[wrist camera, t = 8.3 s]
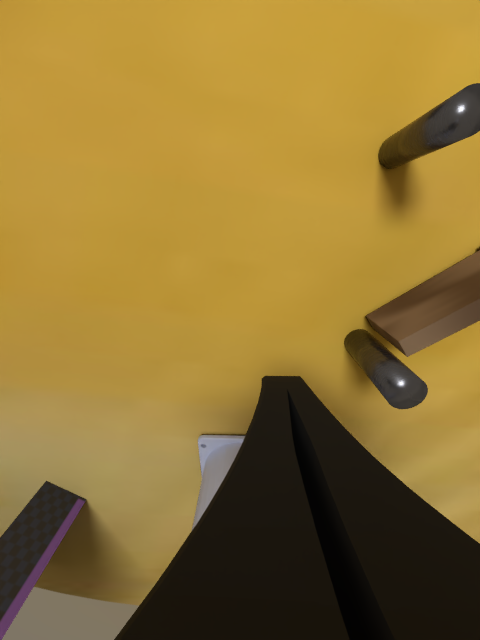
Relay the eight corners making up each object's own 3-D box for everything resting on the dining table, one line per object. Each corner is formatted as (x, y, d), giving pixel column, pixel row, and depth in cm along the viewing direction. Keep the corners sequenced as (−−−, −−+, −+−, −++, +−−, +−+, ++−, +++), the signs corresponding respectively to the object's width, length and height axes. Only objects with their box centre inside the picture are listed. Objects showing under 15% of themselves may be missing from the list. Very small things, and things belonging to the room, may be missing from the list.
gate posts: (369, 353, 18) (421, 409, 12) (342, 352, 18) (383, 408, 12) (415, 134, 13) (539, 63, 7) (378, 135, 13) (473, 66, 7)
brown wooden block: (374, 330, 17) (413, 363, 13) (364, 313, 17) (401, 342, 12) (501, 260, 15) (596, 272, 11) (494, 238, 14) (590, 242, 10)
